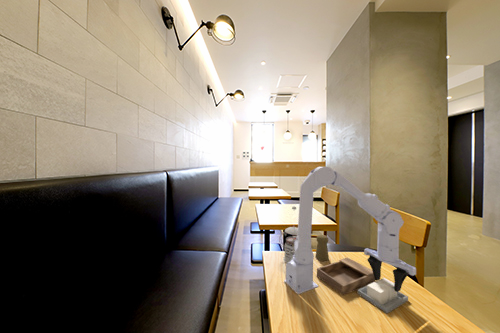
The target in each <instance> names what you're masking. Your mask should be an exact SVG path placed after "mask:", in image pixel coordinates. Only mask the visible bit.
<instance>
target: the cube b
mask: <svg viewBox="0 0 500 333" xmlns="http://www.w3.org/2000/svg"><path fill="white" fill-rule="evenodd" d="M394 283H395V282H393V281H391V280H389V279H387V278H385V277H383V278H380V280H378V281H377V284H379V285H381V286H383V287H385V288H386V289H388V299H389V300H392V299H394V298H396V297H397V292H396V291H395V289H394Z"/></svg>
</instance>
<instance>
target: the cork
mask: <svg viewBox="0 0 500 333" xmlns="http://www.w3.org/2000/svg"><path fill="white" fill-rule="evenodd" d="M315 240H316V241H317V244H316V250H315V255H314V257H315V259H316V260H317V261H319V262H325V263H326V262H328V261H329V260H330V258H329V249H328V243H329V238H328V236H327V235H324V234H317V236H316V239H315Z"/></svg>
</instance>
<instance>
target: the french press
mask: <svg viewBox="0 0 500 333" xmlns="http://www.w3.org/2000/svg"><path fill="white" fill-rule="evenodd" d="M291 210H297V207H296V206H292V208H291ZM297 232H298V227H296V226H289V227H287V228H285V230H284V232H282V233H281V234H280V235H279V239H278V241H279V244H280V246H281V247H282V248H283V250H284V256H283V257H282V258H283V262H284V263H286V264H287V263H288V262H290V261H291V260H292V259H293V255H294V254H295V248H294V241H295V240H296V238H297ZM283 234H284V236H285V242H284V244H283V242H282V240H281V237H282V235H283ZM287 234H288V235H292V236H288V237H286V236H287ZM295 236H296V237H295Z"/></svg>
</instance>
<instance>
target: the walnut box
mask: <svg viewBox="0 0 500 333" xmlns="http://www.w3.org/2000/svg"><path fill="white" fill-rule="evenodd" d="M316 277H317V278H319V279H320V280H321V281H323V282H324V283H326V284H327V285H329V286H330V287H331V288H332V289H334V290H335V291H337V292H338V293H339V294H341V295H342V296H345V295H347V294H350V293H352V292H354V291H356V290H358V289H360V288H363V287H365V286H367V285H369V284H371V283H373V282H376V280H375V278H374V274H373V271H372V268H369V267H367V266H365V265H363V264H362V263H359V262H357V261H355V260H353V259H351V258H350V257H344V258H340V259H339V261H335V262H333V263H330V264H326V265H323V266H320V267H317V268H316Z"/></svg>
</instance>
